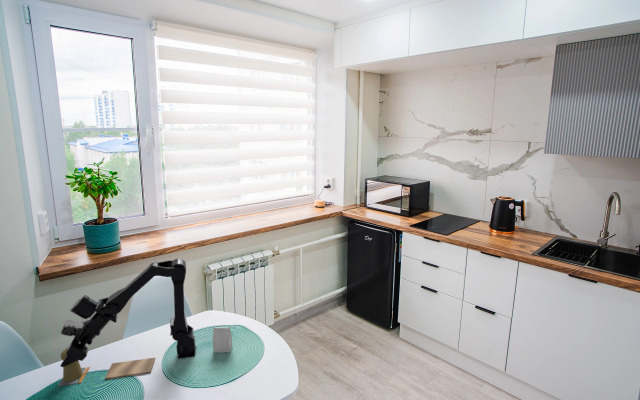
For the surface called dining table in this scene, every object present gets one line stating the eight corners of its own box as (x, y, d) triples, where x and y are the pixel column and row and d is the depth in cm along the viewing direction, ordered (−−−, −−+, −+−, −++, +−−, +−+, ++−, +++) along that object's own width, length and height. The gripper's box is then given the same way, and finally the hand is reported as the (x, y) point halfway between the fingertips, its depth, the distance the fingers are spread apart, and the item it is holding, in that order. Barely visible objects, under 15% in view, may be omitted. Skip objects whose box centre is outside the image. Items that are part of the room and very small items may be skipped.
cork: (73, 383, 130) (68, 355, 128) (58, 380, 131) (54, 353, 129) (86, 372, 136) (82, 345, 133) (73, 369, 137) (68, 343, 135)
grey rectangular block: (229, 352, 148) (228, 330, 146) (213, 352, 148) (211, 330, 146) (232, 347, 151) (231, 325, 149) (216, 346, 152) (214, 325, 150)
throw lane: (155, 358, 144) (155, 357, 144) (150, 372, 136) (150, 371, 136) (68, 370, 137) (68, 369, 137) (57, 386, 129) (57, 384, 129)
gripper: (80, 301, 138) (50, 334, 136) (69, 326, 121) (34, 364, 119) (106, 316, 143) (77, 348, 141) (99, 342, 126) (66, 378, 124)
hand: (64, 358), depth 131 cm, fingers open, 9 cm apart
